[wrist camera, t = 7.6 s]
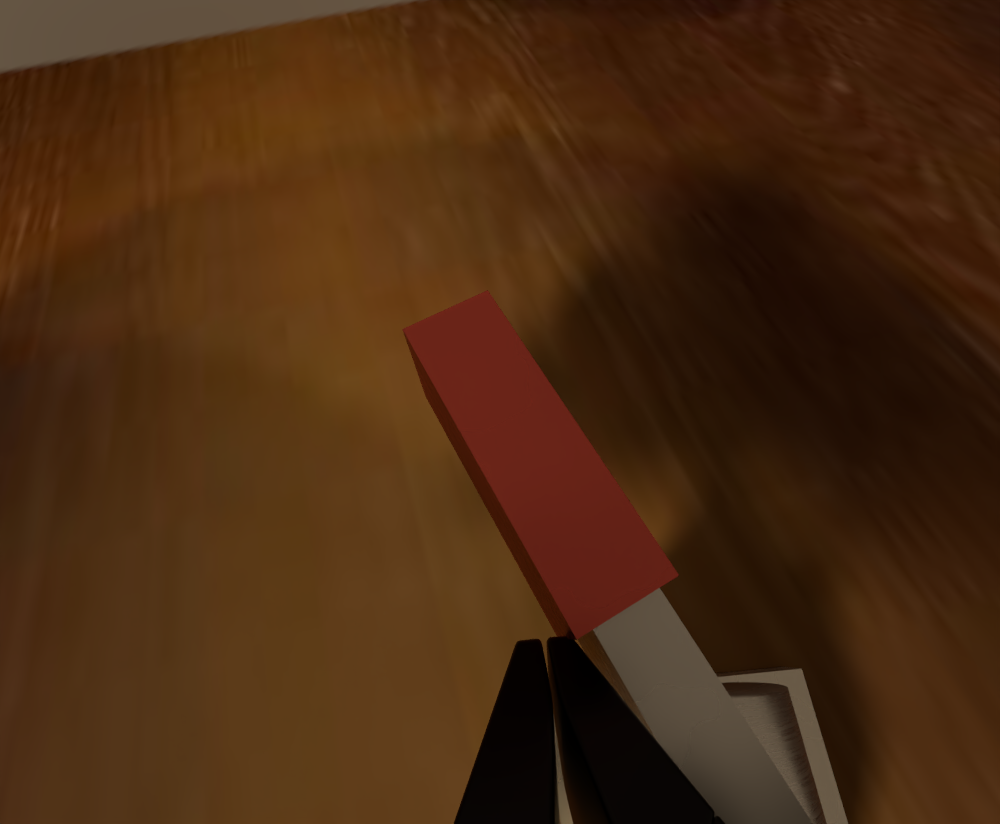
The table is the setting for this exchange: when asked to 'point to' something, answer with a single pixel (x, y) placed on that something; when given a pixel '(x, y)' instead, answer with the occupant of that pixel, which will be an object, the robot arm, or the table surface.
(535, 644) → the robot arm
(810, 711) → the stand
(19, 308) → the table surface
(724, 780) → the valve lever
